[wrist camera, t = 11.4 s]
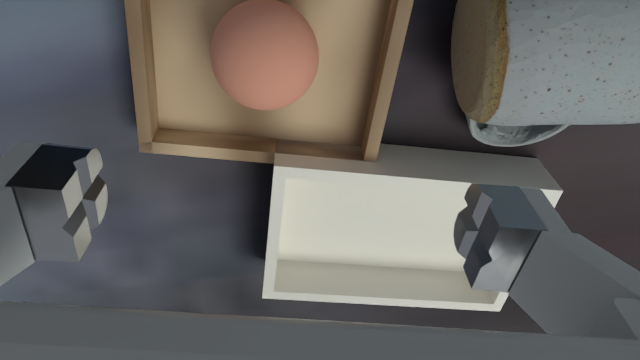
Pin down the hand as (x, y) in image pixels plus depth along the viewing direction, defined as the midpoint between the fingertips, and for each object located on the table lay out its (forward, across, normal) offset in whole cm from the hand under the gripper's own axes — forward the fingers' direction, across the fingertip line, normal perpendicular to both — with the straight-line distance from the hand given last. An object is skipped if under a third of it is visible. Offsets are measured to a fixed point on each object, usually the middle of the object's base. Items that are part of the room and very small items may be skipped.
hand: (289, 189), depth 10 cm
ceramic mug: (+16, -12, +1) cm, 20 cm away
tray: (+16, +1, +2) cm, 16 cm away
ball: (+13, +1, +2) cm, 13 cm away
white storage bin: (+16, -8, +13) cm, 22 cm away
